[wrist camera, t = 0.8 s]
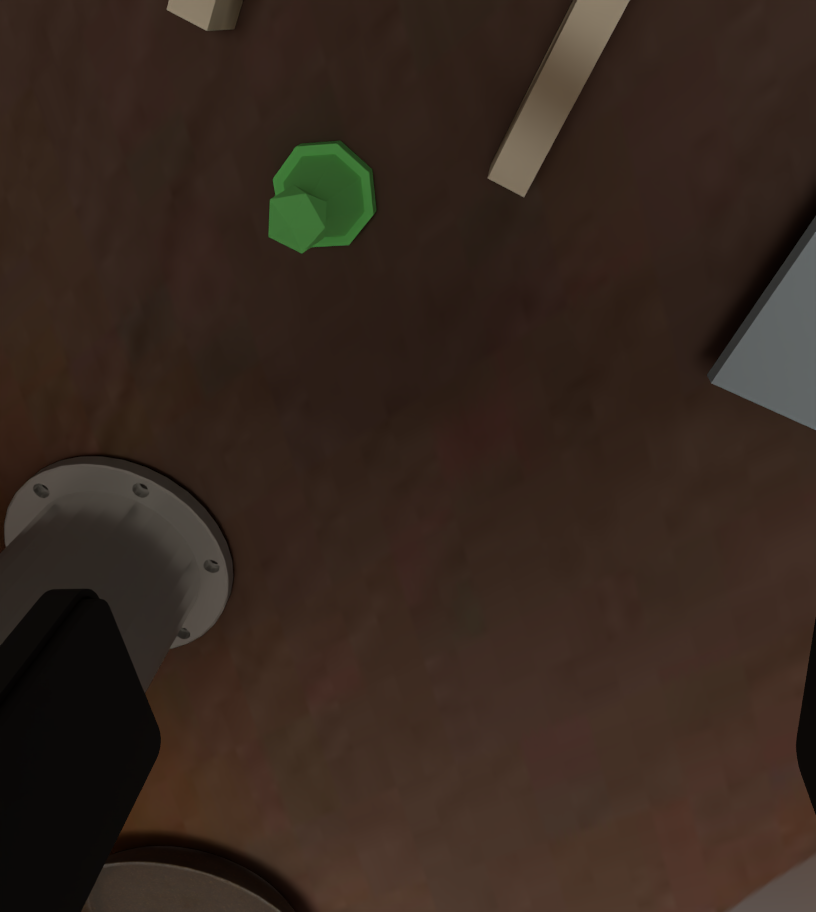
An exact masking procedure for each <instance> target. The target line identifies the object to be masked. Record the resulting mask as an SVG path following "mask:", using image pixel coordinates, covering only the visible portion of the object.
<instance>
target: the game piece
mask: <svg viewBox="0 0 816 912" xmlns="http://www.w3.org/2000/svg"><path fill="white" fill-rule="evenodd" d="M273 184H274V190H275V197H273V198H271V199H270V211H269V236H268V237H270V238H272V239H274V240H276V241H278V242H280V243H282V244H284V245H286V246H288V247H290V248H292V249H294V250H296V251H298V252H299V253H301V254H302V253H304V252H305V251H306V250H308V249H309V248H311V247H323V246H342V245H349V244H350V243H351V242H352V241H353V240H354V238H355V237H356V236H357V235H358V233H359V232H360V231H361V230H362V228H363V227H364V226H365V225H366V224H367V222H368V221H369V220H370V219H371V217H372V216H373V215H374V214H375V212H376V201H375V192H374V182H373V172H372V169H371V168H370V167H369V166H368V165H367V164H366V163H365V162H364V161H362V160H361V159H360V158H359V157H358V156H357V155H356V154H355V153H354V152H353V151H351V150H350V149H349V148H348V147H347V146H346V145H345V144H344V143H343V142H341V141H330V142H317V143H303V144H299V145H298V146H296V147H295V149H294V150H293V151H292V153H291V154H290V156H289V157H288V158H287V160H286V161H285V163H284V164H283V165H282V167H281V168H280V170H279V171H278V172H277V174H276V175H275V177H274V178H273Z"/></svg>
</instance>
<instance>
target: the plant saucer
mask: <svg viewBox="0 0 816 912" xmlns="http://www.w3.org/2000/svg"><path fill="white" fill-rule="evenodd" d="M81 912H295V911H294V910H293V908H292V907H291V906H290V905H289V903H288V902H287V901H286V900H285V898H284V897H283V896H282V895H281V894H280V893H279V892H278V891H277V890H276V889H275V888H274V887H273V886H272V885H270V884H269V883H268V882H266V881H265V880H264V879H262V878H261V877H260V876H258V875H257V874H255V873H253V872H252V871H250V870H248V869H246V868H245V867H243V866H241V865H239V864H237V863H234V862H232V861H230V860H227V859H225V858H222V857H219V856H216V855H213V854H210V853H207V852H203V851H199V850H194V849H189V848H182V847H174V846H148V847H140V848H134V849H129V850H125V851H121V852H118V853H115V854H112V855H109V856H108V858H107V860H106V862H105V864H104V866H103V868H102V870H101V872H100V874H99V876H98V878H97V880H96V882H95V884H94V886H93V889H92V891H91V893H90V895H89V897H88V899H87V901H86V903H85V905H84V907H83V909H82V911H81Z"/></svg>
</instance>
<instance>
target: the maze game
mask: <svg viewBox="0 0 816 912" xmlns="http://www.w3.org/2000/svg"><path fill="white" fill-rule="evenodd" d="M707 376H708V378H709V380H710V382H711V383H712V384H714V385H717V386H719V387H721V388H723V389H725V390H728V391H730V392H732V393H734V394H737V395H739V396H741V397H743V398H745V399H748V400H750V401H752V402H754V403H757V404H759V405H761V406H763V407H765V408H768V409H770V410H772V411H774V412H777V413H779V414H781V415H783V416H786V417H788V418H790V419H792V420H794V421H797V422H799V423H801V424H803V425H806V426H808V427H810V428H812V429H814V430H816V216H815V218H814V219H813V221H812V222H811V223H810V225H809V226H808V228H807V229H806V231H805V232H804V234H803V235H802V237H801V238H800V240H799V241H798V242H797V244H796V245H795V247H794V248H793V250H792V251H791V253H790V254H789V256H788V257H787V259H786V260H785V262H784V263H783V264H782V266H781V267H780V269H779V270H778V272H777V273H776V275H775V276H774V278H773V279H772V281H771V282H770V283H769V285H768V286H767V288H766V289H765V291H764V292H763V294H762V295H761V297H760V298H759V300H758V301H757V302H756V304H755V305H754V307H753V308H752V310H751V311H750V313H749V314H748V316H747V317H746V319H745V320H744V321H743V323H742V324H741V326H740V327H739V329H738V330H737V332H736V333H735V335H734V336H733V338H732V339H731V340H730V342H729V343H728V345H727V346H726V348H725V349H724V351H723V352H722V354H721V355H720V357H719V358H718V359H717V361H716V362H715V364H714V365H713V367H712V368H711V370H710V371H709V373H708V374H707Z"/></svg>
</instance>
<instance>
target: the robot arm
mask: <svg viewBox="0 0 816 912" xmlns="http://www.w3.org/2000/svg"><path fill="white" fill-rule="evenodd" d="M4 542H5V546H6V548H5V549H4V550H3V551H2V552H1V553H0V912H81V911H82V909H83V907H84V905H85V903H86V901H87V899H88V897H89V895H90V893H91V891H92V889H93V886H94V884H95V882H96V880H97V878H98V876H99V874H100V872H101V870H102V868H103V866H104V864H105V862H106V860H107V858H108V856H109V854H110V852H111V850H112V848H113V846H114V844H115V842H116V840H117V838H118V836H119V834H120V832H121V830H122V828H123V826H124V824H125V822H126V820H127V818H128V816H129V814H130V812H131V810H132V807H133V805H134V803H135V801H136V799H137V797H138V795H139V793H140V791H141V789H142V787H143V785H144V783H145V781H146V779H147V777H148V775H149V773H150V771H151V769H152V767H153V765H154V763H155V761H156V759H157V756H158V754H159V750H160V743H161V736H160V731H159V727H158V725H157V722H156V720H155V717H154V715H153V713H152V710H151V708H150V705H149V703H148V700H147V698H146V695H145V692H146V691H147V689H148V687H149V685H150V683H151V682H152V680H153V678H154V676H155V674H156V673H157V671H158V669H159V667H160V665H161V664H162V662H163V660H164V658H165V656H166V655H167V653H168V651H169V649H172V648H176V647H179V646H182V645H185V644H188V643H190V642H192V641H194V640H195V639H197V638H199V637H201V636H202V635H204V634H205V633H206V632H207V631H208V630H209V629H210V628H211V627H212V626H213V625H214V624H215V623H216V621H217V620H218V618H219V617H220V615H221V613H222V612H223V610H224V608H225V605H226V603H227V601H228V599H229V597H230V594H231V589H232V583H233V565H232V558H231V555H230V552H229V548H228V545H227V542H226V540H225V538H224V536H223V534H222V532H221V531H220V529H219V527H218V525H217V523H216V522H215V521H214V520H213V518H212V517H211V516H210V514H209V513H208V512H207V510H206V509H205V508H204V507H203V506H202V505H201V504H200V503H199V502H198V501H197V500H196V499H195V498H194V497H193V496H192V495H191V494H189V493H188V492H187V491H186V490H184V489H183V488H182V487H180V486H179V485H177V484H176V483H174V482H173V481H172V480H170V479H169V478H167V477H165V476H163V475H161V474H159V473H157V472H155V471H153V470H151V469H149V468H147V467H144V466H141V465H138V464H135V463H132V462H129V461H126V460H121V459H115V458H109V457H103V456H85V457H75V458H70V459H65V460H61V461H58V462H56V463H54V464H51V465H49V466H47V467H45V468H43V469H41V470H40V471H39V472H38V473H36V474H35V475H34V476H33V477H31V478H30V479H29V480H28V481H27V482H26V483H25V484H24V485H23V486H22V487H21V488H20V489H19V490H18V491H17V492H16V493H15V495H14V497H13V499H12V501H11V503H10V504H9V506H8V509H7V513H6V517H5V522H4ZM796 752H797V759H798V764H799V768H800V772H801V775H802V778H803V780H804V783H805V786H806V789H807V792H808V794H809V797H810V800H811V803H812V806H813V808H814V811H815V814H816V619H815V625H814V632H813V638H812V644H811V651H810V657H809V663H808V670H807V676H806V682H805V689H804V695H803V701H802V708H801V714H800V720H799V727H798V733H797V740H796Z"/></svg>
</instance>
